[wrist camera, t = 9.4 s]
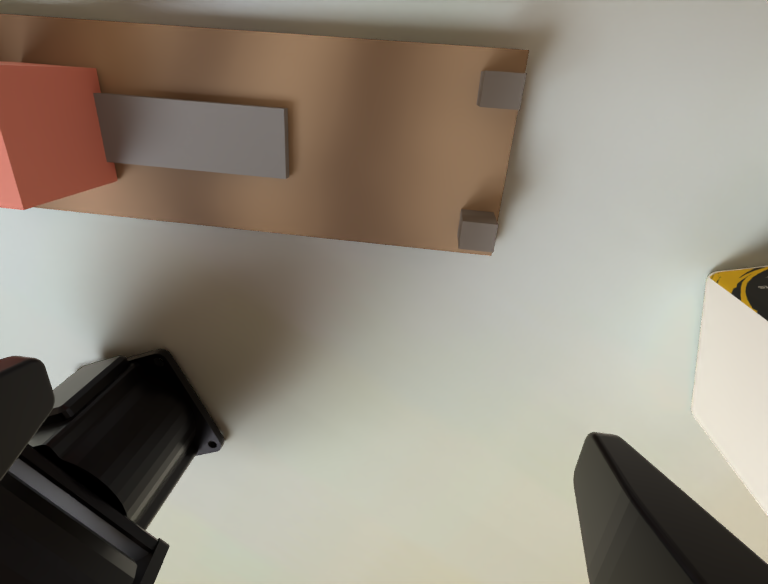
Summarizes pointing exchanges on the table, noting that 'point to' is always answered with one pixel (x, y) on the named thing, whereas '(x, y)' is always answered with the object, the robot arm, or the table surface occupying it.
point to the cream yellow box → (736, 373)
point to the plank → (309, 128)
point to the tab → (120, 134)
